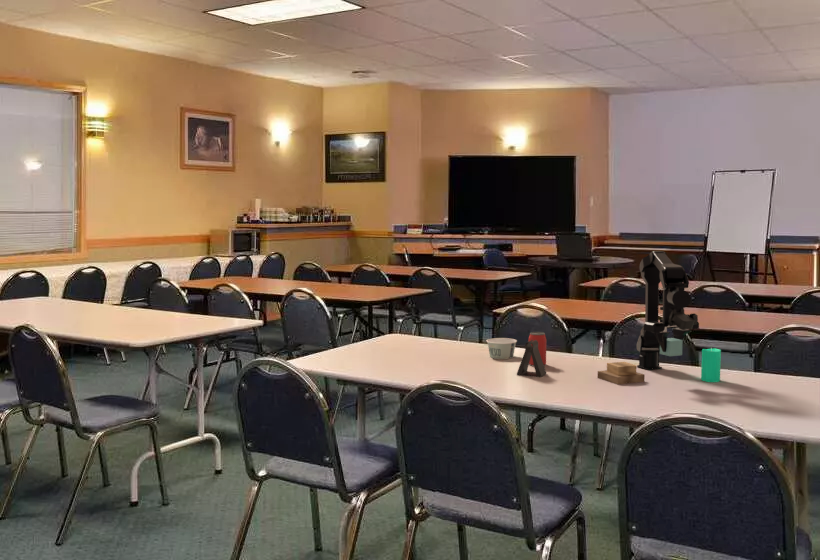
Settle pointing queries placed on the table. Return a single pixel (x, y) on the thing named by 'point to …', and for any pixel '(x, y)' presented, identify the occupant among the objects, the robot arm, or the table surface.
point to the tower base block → (621, 377)
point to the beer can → (539, 345)
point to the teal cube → (673, 347)
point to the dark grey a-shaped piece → (536, 359)
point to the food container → (501, 348)
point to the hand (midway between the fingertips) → (670, 351)
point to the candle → (711, 365)
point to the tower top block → (621, 368)
